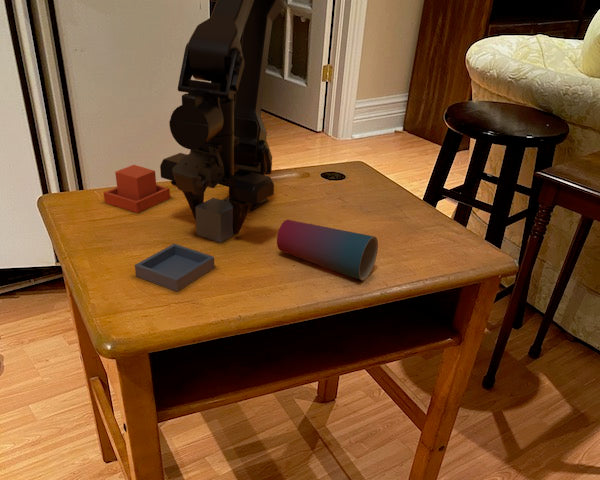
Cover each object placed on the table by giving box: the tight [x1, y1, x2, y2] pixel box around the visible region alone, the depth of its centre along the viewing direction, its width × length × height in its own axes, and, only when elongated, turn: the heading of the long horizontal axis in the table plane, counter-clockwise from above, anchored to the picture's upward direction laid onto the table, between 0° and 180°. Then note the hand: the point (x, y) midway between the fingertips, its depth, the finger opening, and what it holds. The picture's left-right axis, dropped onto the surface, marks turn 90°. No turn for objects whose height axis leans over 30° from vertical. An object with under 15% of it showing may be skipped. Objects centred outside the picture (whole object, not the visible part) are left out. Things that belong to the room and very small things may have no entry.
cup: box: [276, 219, 379, 282], centre depth 92 cm, size 7×7×15 cm
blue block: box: [195, 197, 235, 244], centre depth 99 cm, size 5×5×5 cm
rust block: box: [114, 164, 157, 201], centre depth 107 cm, size 5×5×5 cm
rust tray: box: [103, 183, 171, 214], centre depth 108 cm, size 9×8×2 cm
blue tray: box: [134, 243, 215, 293], centre depth 88 cm, size 9×8×2 cm
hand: (217, 228), depth 100 cm, fingers open, 7 cm apart
